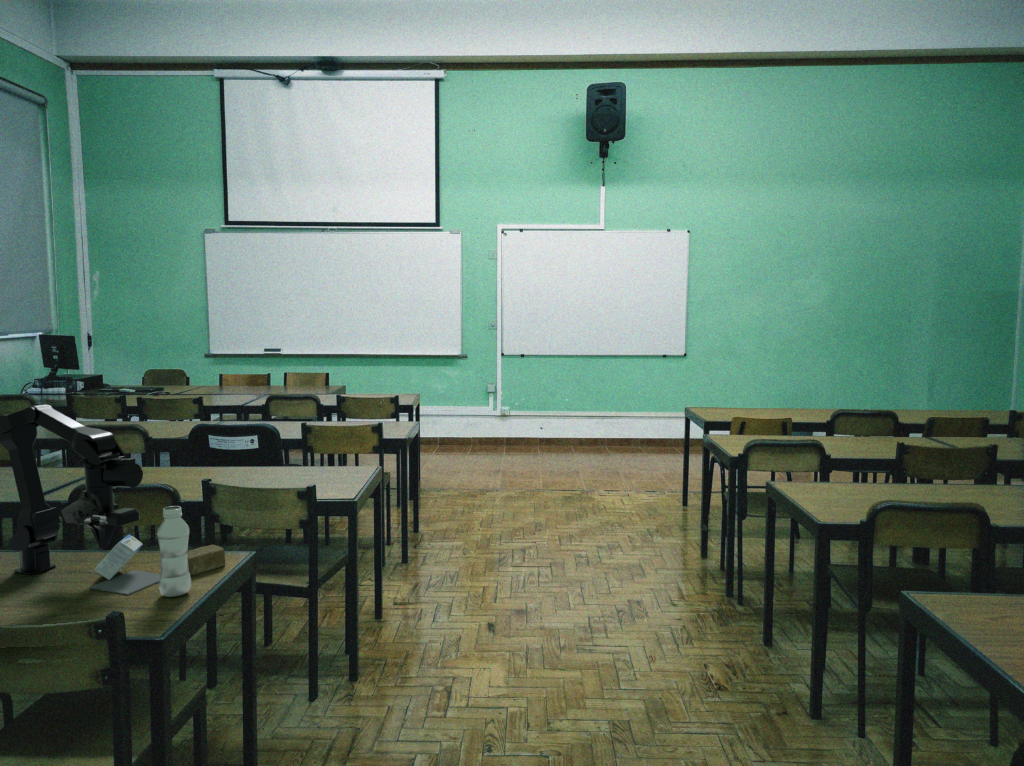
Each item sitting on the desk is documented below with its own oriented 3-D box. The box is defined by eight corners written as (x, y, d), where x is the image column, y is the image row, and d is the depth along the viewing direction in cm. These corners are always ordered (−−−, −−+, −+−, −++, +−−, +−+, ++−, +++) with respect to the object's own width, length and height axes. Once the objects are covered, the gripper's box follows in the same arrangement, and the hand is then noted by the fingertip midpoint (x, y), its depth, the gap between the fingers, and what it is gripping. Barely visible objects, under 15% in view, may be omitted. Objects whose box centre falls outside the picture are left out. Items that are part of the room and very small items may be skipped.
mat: (89, 588, 162) (89, 586, 162) (134, 571, 173) (134, 569, 173) (127, 595, 158) (127, 593, 158) (170, 577, 169) (170, 576, 169)
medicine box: (108, 581, 165) (135, 552, 167) (92, 569, 165) (119, 540, 166) (118, 571, 173) (144, 544, 174) (103, 560, 172) (129, 533, 173)
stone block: (172, 574, 172) (171, 554, 171) (215, 561, 181) (215, 542, 181) (184, 579, 168) (184, 558, 168) (228, 566, 178) (227, 546, 177)
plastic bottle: (166, 589, 161) (162, 504, 159) (196, 589, 161) (193, 504, 160) (153, 600, 155) (149, 512, 153) (185, 600, 155) (181, 511, 153)
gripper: (39, 489, 163) (43, 555, 164) (96, 496, 156) (101, 564, 157) (83, 479, 173) (87, 541, 174) (139, 485, 166) (143, 549, 168)
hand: (103, 549), depth 168 cm, fingers closed
